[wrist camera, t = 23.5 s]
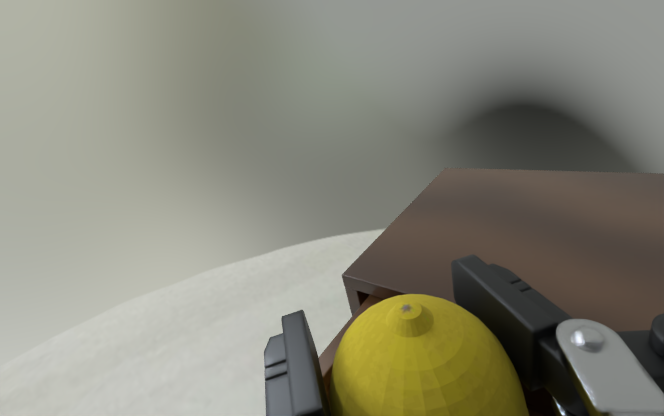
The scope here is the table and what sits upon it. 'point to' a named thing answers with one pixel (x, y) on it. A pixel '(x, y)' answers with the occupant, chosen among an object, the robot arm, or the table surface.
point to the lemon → (422, 363)
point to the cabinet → (530, 241)
